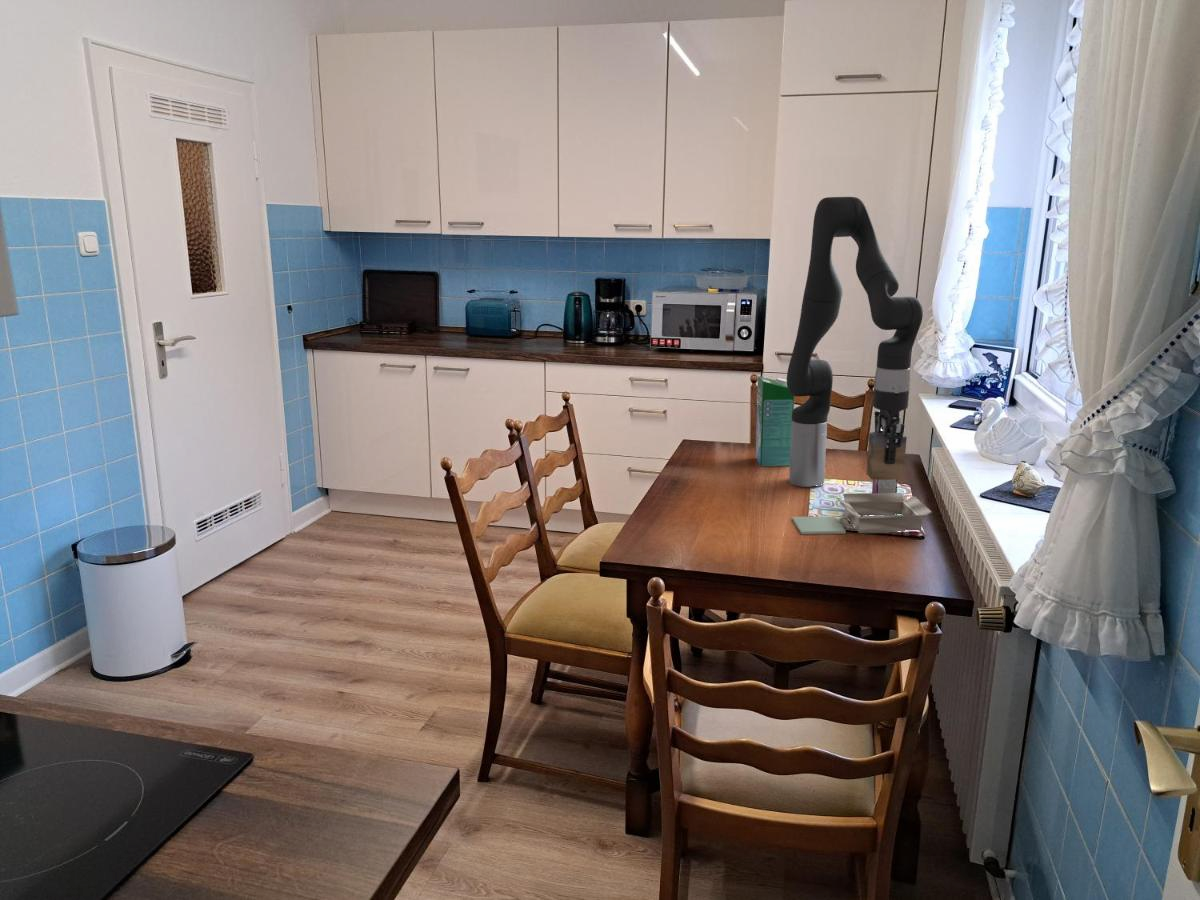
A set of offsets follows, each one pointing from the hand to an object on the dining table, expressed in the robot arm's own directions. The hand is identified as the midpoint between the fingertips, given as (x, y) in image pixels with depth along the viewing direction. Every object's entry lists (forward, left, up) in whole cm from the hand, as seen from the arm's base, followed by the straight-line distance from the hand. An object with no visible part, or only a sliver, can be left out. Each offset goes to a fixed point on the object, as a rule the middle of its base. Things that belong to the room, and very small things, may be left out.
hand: (885, 460), depth 195 cm
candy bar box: (-15, +5, -16) cm, 22 cm away
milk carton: (-54, -15, -16) cm, 58 cm away
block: (0, 0, -4) cm, 4 cm away
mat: (+1, -15, -15) cm, 21 cm away
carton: (0, 0, -15) cm, 15 cm away
